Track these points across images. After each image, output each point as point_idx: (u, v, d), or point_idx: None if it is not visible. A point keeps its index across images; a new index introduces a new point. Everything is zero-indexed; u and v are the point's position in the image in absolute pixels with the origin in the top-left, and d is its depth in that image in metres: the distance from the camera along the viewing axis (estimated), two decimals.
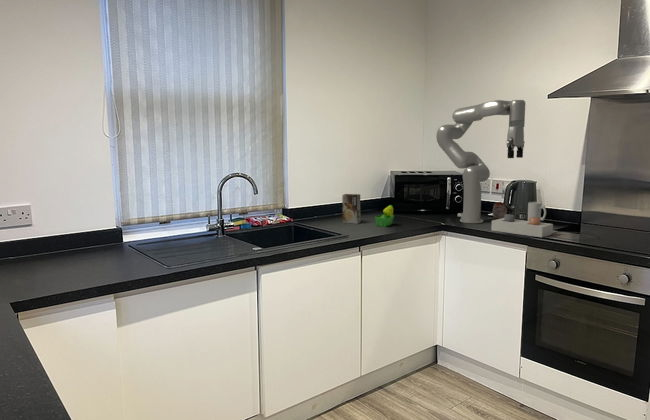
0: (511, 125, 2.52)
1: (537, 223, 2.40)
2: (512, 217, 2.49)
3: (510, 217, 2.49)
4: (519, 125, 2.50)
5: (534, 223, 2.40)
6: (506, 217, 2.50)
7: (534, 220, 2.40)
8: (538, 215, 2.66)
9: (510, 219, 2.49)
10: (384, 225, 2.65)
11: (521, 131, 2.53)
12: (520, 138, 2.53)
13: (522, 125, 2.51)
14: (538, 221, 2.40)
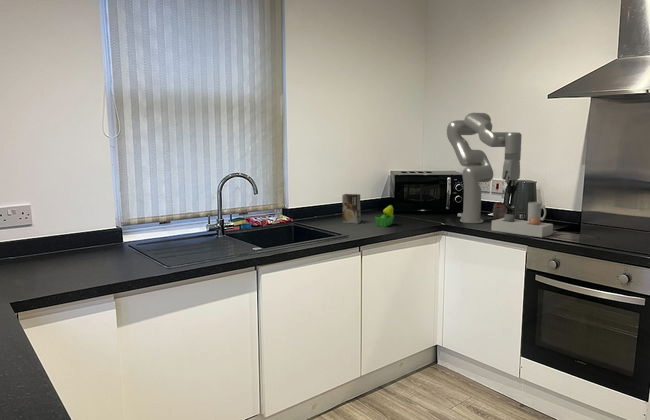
0: (507, 158, 2.45)
1: (537, 223, 2.40)
2: (512, 217, 2.49)
3: (510, 217, 2.49)
4: (515, 158, 2.43)
5: (534, 223, 2.40)
6: (506, 217, 2.50)
7: (534, 220, 2.40)
8: (538, 215, 2.66)
9: (510, 219, 2.49)
10: (384, 225, 2.65)
11: (517, 164, 2.46)
12: (516, 171, 2.46)
13: (518, 158, 2.44)
14: (538, 221, 2.40)
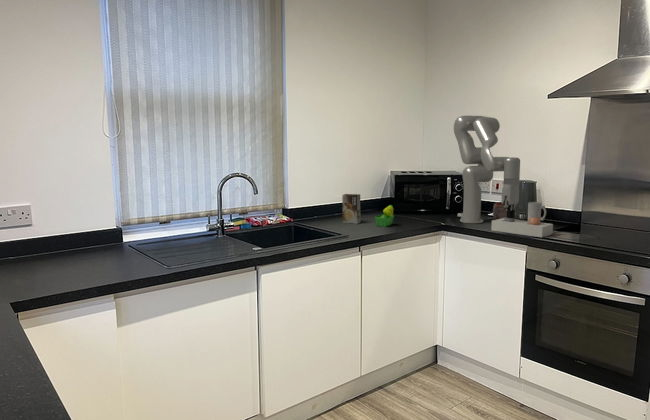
0: (506, 183, 2.47)
1: (537, 223, 2.40)
2: (512, 220, 2.49)
3: (510, 220, 2.49)
4: (514, 183, 2.45)
5: (534, 223, 2.40)
6: (506, 220, 2.50)
7: (534, 220, 2.40)
8: (538, 215, 2.66)
9: None
10: (384, 225, 2.65)
11: (516, 189, 2.48)
12: (515, 196, 2.48)
13: (517, 183, 2.46)
14: (538, 221, 2.40)
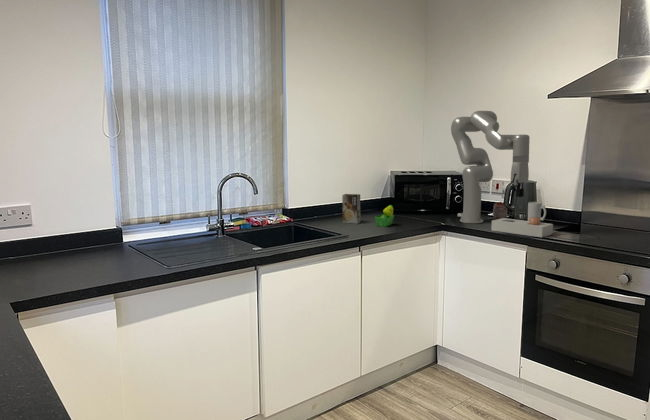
0: (515, 161, 2.42)
1: (537, 223, 2.40)
2: None
3: None
4: (523, 161, 2.40)
5: (534, 223, 2.40)
6: None
7: (534, 220, 2.40)
8: (538, 215, 2.66)
9: None
10: (384, 225, 2.65)
11: (525, 167, 2.43)
12: (525, 174, 2.43)
13: (526, 161, 2.41)
14: (538, 221, 2.40)
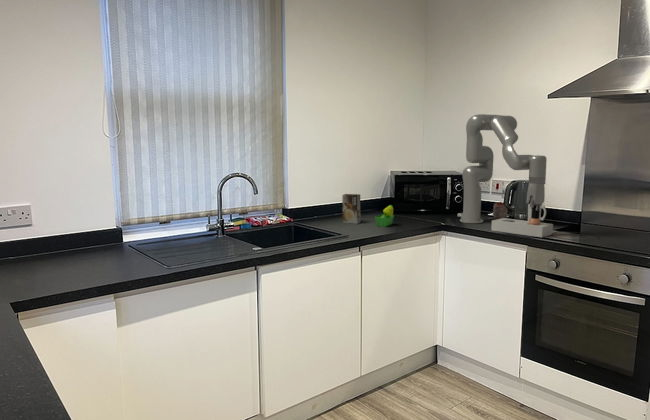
0: (531, 182, 2.38)
1: (537, 223, 2.40)
2: None
3: None
4: (540, 182, 2.36)
5: (534, 223, 2.40)
6: None
7: (534, 220, 2.40)
8: None
9: None
10: (384, 225, 2.65)
11: (542, 188, 2.38)
12: (541, 196, 2.38)
13: (543, 182, 2.36)
14: (538, 221, 2.40)
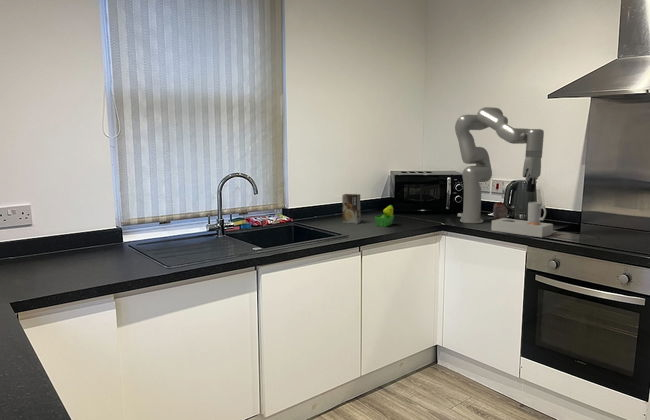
0: (528, 155, 2.40)
1: None
2: None
3: None
4: (536, 156, 2.38)
5: None
6: None
7: None
8: (538, 215, 2.66)
9: None
10: (384, 225, 2.65)
11: (538, 162, 2.41)
12: (537, 169, 2.41)
13: (540, 156, 2.38)
14: None
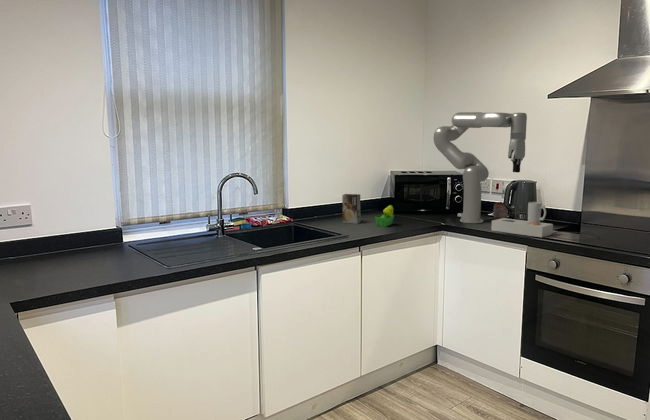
0: (512, 137, 2.55)
1: None
2: None
3: None
4: (520, 138, 2.53)
5: None
6: None
7: None
8: (538, 215, 2.66)
9: None
10: (384, 225, 2.65)
11: (522, 143, 2.55)
12: (521, 150, 2.55)
13: (523, 138, 2.53)
14: None
